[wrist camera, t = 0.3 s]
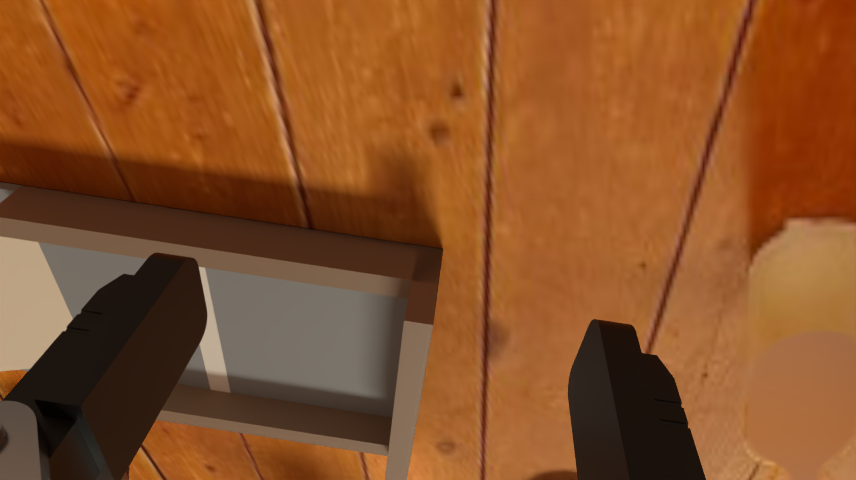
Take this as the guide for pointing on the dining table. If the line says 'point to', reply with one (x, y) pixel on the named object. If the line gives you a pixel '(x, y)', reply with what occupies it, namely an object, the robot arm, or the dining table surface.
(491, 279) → the dining table surface
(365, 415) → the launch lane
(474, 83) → the dining table surface
